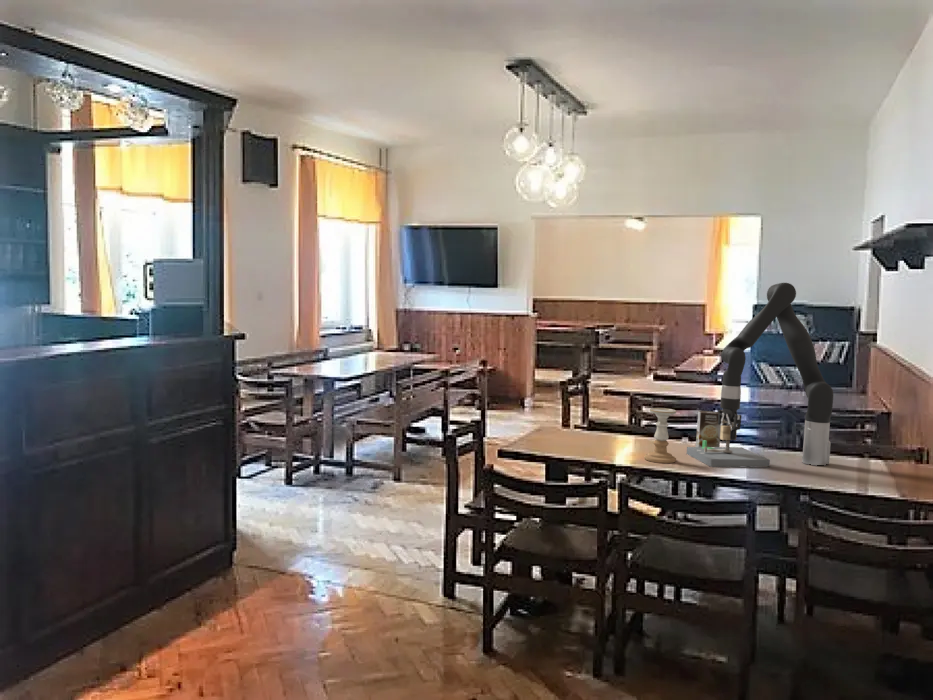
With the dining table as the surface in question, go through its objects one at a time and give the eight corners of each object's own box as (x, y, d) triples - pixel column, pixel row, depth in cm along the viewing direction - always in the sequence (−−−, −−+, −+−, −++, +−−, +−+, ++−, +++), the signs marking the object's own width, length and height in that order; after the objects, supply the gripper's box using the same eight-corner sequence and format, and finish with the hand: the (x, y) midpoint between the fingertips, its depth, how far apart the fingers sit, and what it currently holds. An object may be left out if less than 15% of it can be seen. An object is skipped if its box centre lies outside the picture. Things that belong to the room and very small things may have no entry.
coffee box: (697, 449, 367) (700, 412, 366) (695, 447, 374) (697, 410, 372) (719, 451, 366) (722, 413, 365) (717, 448, 373) (719, 411, 371)
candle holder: (652, 463, 335) (655, 412, 334) (639, 457, 347) (641, 407, 346) (681, 463, 338) (684, 412, 337) (667, 456, 350) (670, 407, 349)
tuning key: (731, 451, 349) (733, 425, 348) (736, 453, 345) (738, 426, 344) (702, 451, 346) (703, 425, 345) (707, 453, 342) (708, 427, 342)
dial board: (741, 454, 360) (742, 440, 360) (769, 467, 337) (770, 452, 336) (686, 454, 357) (687, 439, 356) (711, 466, 333) (711, 451, 333)
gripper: (748, 399, 339) (746, 441, 340) (729, 394, 353) (727, 434, 354) (731, 399, 337) (729, 441, 338) (713, 394, 351) (710, 434, 352)
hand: (728, 437), depth 346 cm, fingers open, 6 cm apart
